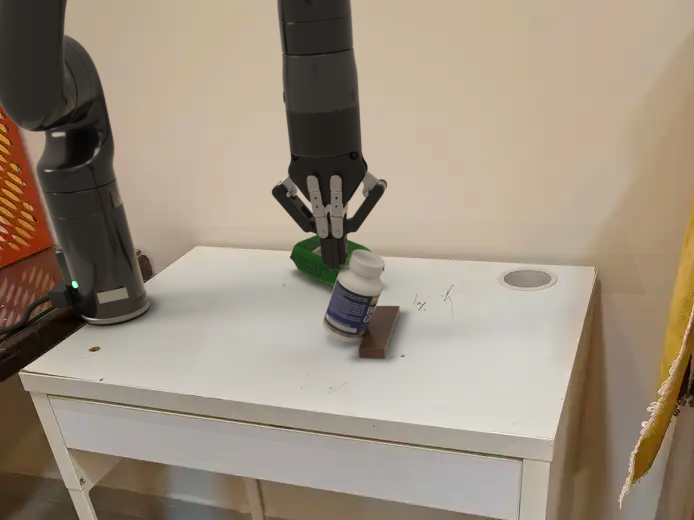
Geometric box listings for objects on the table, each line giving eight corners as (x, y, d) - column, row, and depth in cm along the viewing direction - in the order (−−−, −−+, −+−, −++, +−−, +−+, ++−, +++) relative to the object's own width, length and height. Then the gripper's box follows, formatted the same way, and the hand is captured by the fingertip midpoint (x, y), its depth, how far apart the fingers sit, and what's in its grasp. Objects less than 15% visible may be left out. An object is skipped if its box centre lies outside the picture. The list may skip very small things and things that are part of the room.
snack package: (347, 301, 97) (344, 263, 94) (286, 271, 108) (282, 236, 105) (388, 287, 100) (387, 250, 97) (326, 259, 111) (323, 225, 108)
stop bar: (359, 357, 84) (358, 348, 83) (376, 314, 93) (376, 305, 92) (384, 358, 83) (384, 349, 82) (399, 314, 92) (399, 305, 92)
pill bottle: (363, 348, 86) (390, 275, 80) (320, 335, 85) (344, 260, 79) (364, 325, 90) (391, 255, 84) (323, 313, 89) (347, 240, 83)
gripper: (392, 91, 74) (397, 255, 85) (270, 96, 77) (289, 255, 87) (380, 106, 68) (387, 280, 79) (248, 111, 71) (271, 279, 81)
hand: (335, 267), depth 83 cm, fingers closed
